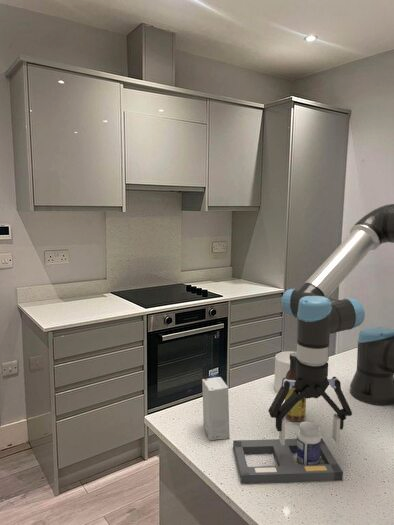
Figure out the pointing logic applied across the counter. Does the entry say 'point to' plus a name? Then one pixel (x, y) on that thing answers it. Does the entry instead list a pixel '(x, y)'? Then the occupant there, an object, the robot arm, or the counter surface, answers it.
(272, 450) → the socket panel
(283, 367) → the cup
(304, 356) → the robot arm
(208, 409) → the skincare box
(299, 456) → the pill bottle
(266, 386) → the counter surface
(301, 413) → the sauce bottle
